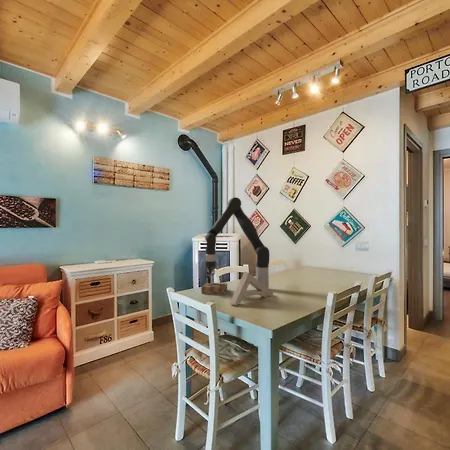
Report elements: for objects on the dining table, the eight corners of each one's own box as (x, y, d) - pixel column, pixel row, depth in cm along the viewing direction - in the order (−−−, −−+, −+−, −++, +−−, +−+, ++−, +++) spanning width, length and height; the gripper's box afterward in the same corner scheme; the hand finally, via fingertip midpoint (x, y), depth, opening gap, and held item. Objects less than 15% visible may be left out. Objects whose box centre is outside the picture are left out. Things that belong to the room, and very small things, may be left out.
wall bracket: (261, 323, 184) (234, 304, 168) (256, 321, 187) (229, 303, 171) (273, 292, 192) (249, 272, 176) (268, 291, 195) (244, 271, 179)
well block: (227, 289, 208) (227, 283, 207) (223, 294, 194) (223, 287, 194) (206, 288, 211) (206, 282, 211) (201, 293, 197) (201, 286, 197)
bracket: (208, 289, 201) (208, 275, 201) (209, 288, 205) (209, 274, 205) (219, 290, 200) (219, 276, 199) (220, 288, 203) (220, 275, 203)
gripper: (213, 261, 195) (213, 284, 195) (217, 259, 209) (217, 280, 209) (202, 261, 196) (203, 284, 197) (208, 258, 210) (208, 279, 211)
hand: (210, 282), depth 203 cm, fingers open, 8 cm apart
